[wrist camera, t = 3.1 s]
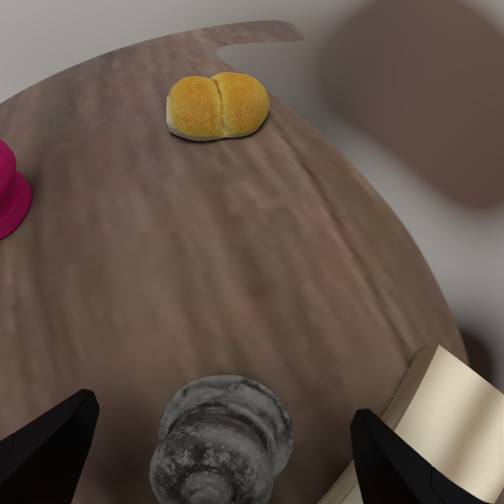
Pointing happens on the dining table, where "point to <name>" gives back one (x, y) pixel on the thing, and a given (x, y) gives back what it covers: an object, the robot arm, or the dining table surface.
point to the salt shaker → (221, 443)
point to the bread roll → (216, 106)
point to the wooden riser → (443, 426)
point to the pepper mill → (11, 192)
